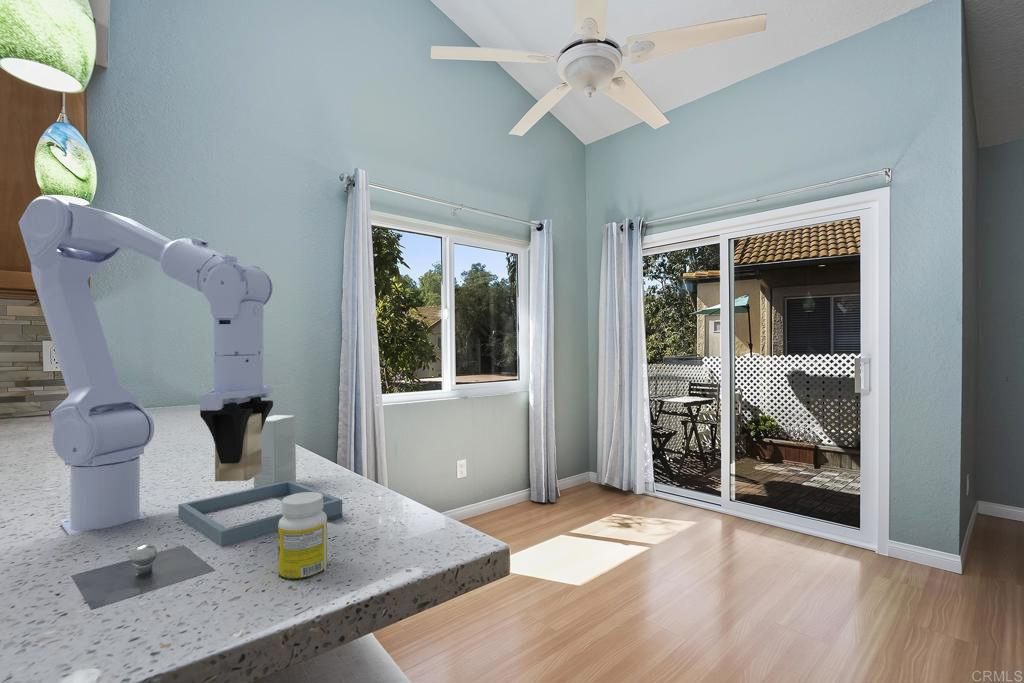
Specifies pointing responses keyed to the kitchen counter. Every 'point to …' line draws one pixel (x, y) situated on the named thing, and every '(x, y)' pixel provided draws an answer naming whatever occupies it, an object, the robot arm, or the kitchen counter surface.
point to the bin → (226, 536)
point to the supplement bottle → (302, 537)
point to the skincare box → (277, 451)
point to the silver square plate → (139, 574)
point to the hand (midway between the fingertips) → (238, 458)
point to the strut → (244, 455)
